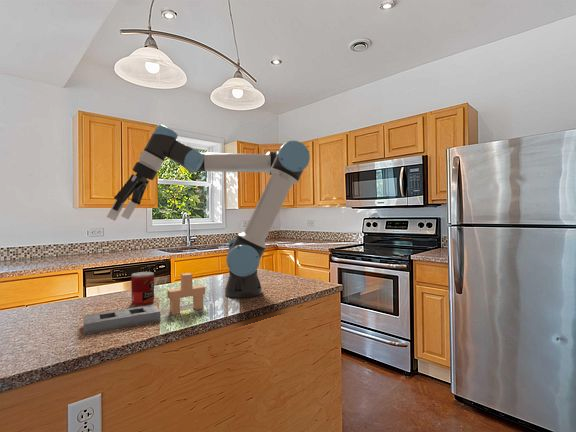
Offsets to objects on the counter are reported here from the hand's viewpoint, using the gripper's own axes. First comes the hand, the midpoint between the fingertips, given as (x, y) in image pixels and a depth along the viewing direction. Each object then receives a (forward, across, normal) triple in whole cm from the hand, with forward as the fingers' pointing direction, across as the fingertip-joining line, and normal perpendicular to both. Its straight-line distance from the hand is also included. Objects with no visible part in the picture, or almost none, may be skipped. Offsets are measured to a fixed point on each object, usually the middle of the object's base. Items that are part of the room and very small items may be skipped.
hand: (118, 218), depth 111 cm
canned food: (+25, -6, +21) cm, 33 cm away
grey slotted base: (+25, +17, +21) cm, 37 cm away
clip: (+17, +7, +36) cm, 41 cm away
